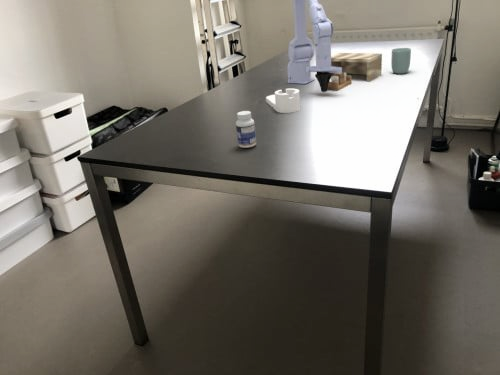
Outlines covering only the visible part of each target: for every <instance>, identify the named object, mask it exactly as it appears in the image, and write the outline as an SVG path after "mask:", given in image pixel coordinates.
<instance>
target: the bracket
mask: <svg viewBox="0 0 500 375" xmlns="http://www.w3.org/2000/svg"><path fill="white" fill-rule="evenodd" d="M300 95H301V93H300V89H297V88H285V92H283V90H282V89H278V90H276V91H274V94H270V95H267V96H266V97H265V102H266V104H268V105H269V106H271V108H272V107H273V108H272V109H273V110H275V111H276V112H278V113H279V114H280V113H281V114H290V113H291V112H293V113H296V111H297V112H299V111H301V98H300ZM298 110H299V111H298Z"/></svg>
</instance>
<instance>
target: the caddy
mask: <svg viewBox="0 0 500 375" xmlns="http://www.w3.org/2000/svg"><path fill="white" fill-rule="evenodd" d="M330 80H331V81H329V84H328V88H327V91H334V92H339V91H340V90H342V89H344V88H346V87H348V86H350V85H352V75H348V74H347V73H345V72H343V73H340V74H337V73H335V74H334V76H332V77H331V78H330Z"/></svg>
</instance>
